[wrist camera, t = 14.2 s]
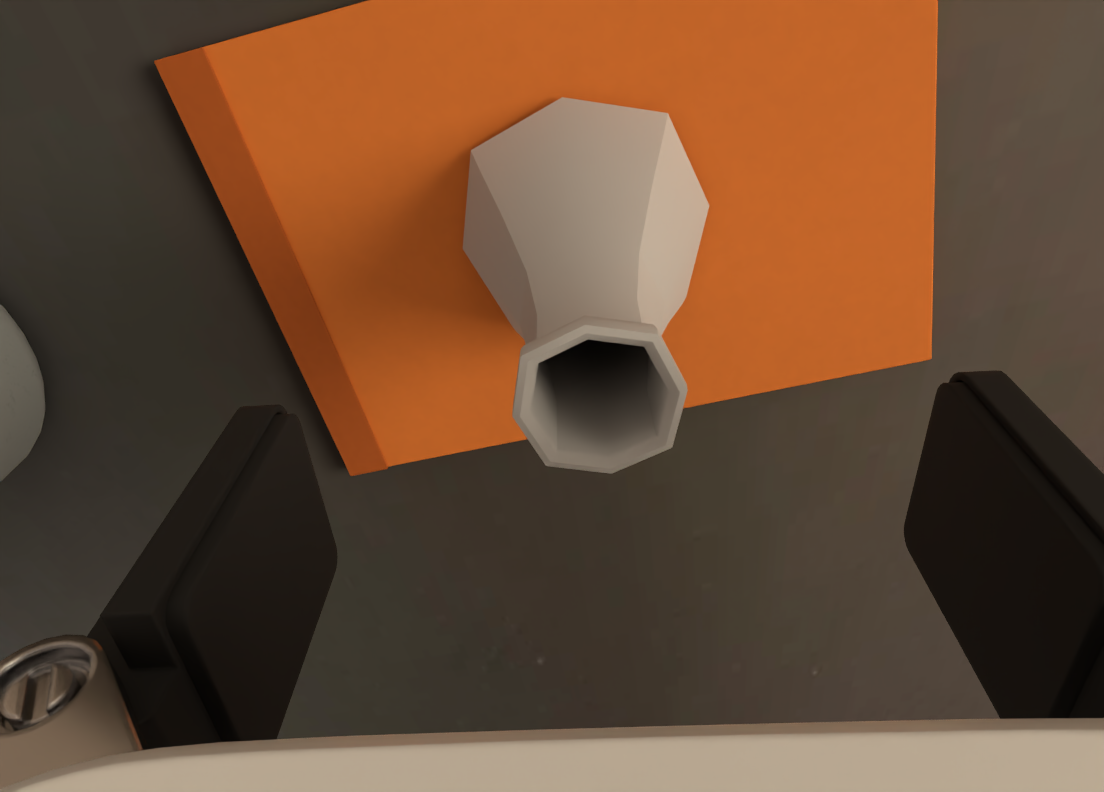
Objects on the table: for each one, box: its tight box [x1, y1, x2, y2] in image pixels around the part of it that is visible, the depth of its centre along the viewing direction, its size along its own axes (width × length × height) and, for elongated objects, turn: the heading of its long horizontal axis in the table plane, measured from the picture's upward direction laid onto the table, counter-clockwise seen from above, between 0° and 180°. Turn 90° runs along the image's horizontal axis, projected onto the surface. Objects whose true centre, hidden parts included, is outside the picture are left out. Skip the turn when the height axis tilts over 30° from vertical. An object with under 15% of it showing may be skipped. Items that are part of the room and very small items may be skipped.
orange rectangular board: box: [154, 0, 938, 476], centre depth 22 cm, size 14×20×1 cm
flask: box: [463, 97, 709, 474], centre depth 18 cm, size 7×7×10 cm
